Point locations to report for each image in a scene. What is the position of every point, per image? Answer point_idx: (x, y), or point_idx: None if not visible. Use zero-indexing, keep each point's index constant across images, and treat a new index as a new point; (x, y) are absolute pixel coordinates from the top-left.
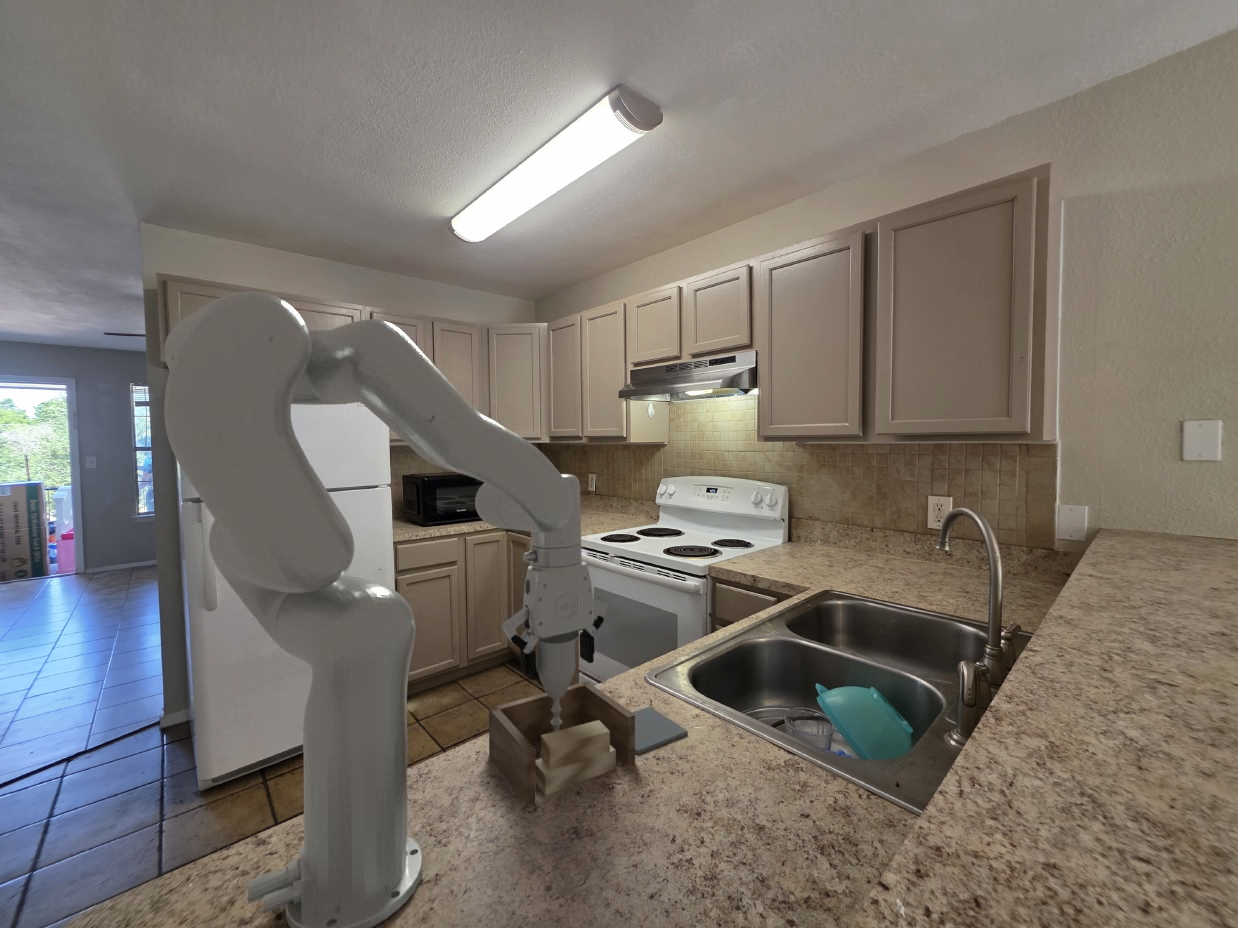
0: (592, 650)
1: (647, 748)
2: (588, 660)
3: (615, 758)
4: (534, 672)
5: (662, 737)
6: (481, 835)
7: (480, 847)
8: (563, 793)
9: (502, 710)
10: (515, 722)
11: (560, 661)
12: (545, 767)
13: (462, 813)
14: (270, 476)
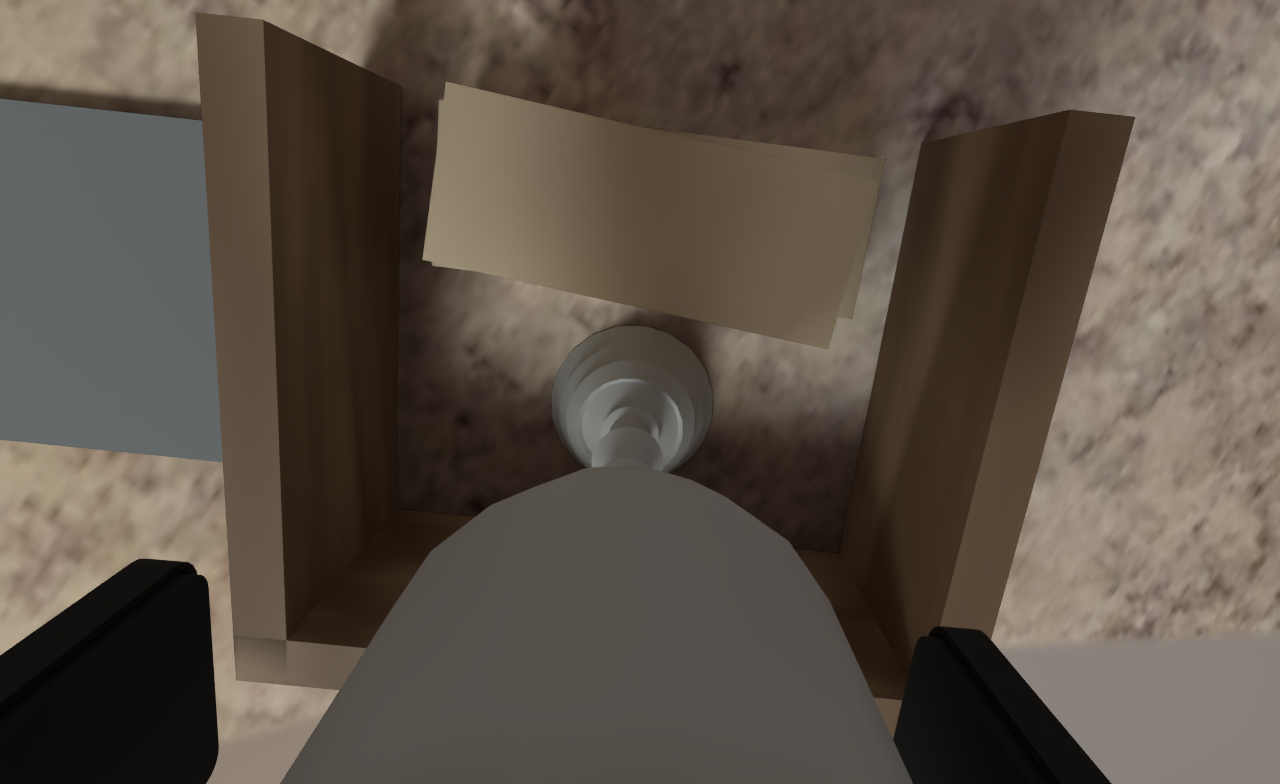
0: (28, 649)
1: None
2: (191, 597)
3: None
4: (984, 670)
5: (98, 137)
6: (1206, 113)
7: (1253, 46)
8: (784, 119)
9: (895, 691)
10: None
11: (716, 582)
12: None
13: (1176, 297)
14: None
